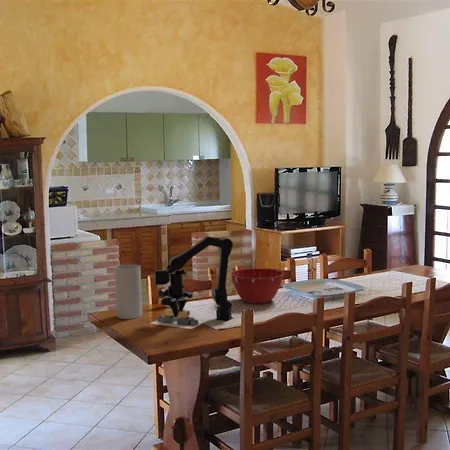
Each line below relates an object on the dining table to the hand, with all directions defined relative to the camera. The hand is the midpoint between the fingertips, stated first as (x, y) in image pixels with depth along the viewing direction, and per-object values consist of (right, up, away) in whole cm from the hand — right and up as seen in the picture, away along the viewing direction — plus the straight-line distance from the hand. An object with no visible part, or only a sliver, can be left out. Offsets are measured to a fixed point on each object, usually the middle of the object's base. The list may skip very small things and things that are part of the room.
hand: (177, 316), depth 299 cm
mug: (-5, 0, +36) cm, 36 cm away
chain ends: (0, -3, 0) cm, 3 cm away
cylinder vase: (-25, -3, +15) cm, 29 cm away
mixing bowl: (+40, +2, +42) cm, 58 cm away
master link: (0, -2, 0) cm, 2 cm away
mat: (0, -4, 0) cm, 4 cm away
